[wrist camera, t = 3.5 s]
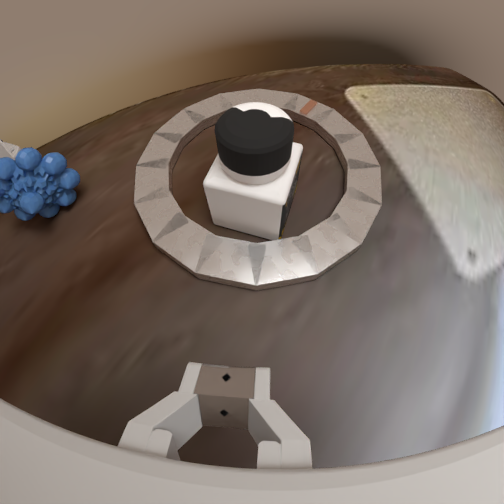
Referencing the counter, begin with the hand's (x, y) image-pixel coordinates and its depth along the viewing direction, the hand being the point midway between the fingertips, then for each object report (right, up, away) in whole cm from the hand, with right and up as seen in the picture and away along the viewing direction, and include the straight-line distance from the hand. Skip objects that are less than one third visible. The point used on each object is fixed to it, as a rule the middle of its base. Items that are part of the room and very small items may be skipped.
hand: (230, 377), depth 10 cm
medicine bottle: (+1, +9, +21) cm, 23 cm away
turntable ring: (+2, +14, +23) cm, 27 cm away
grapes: (-24, +9, +22) cm, 34 cm away
